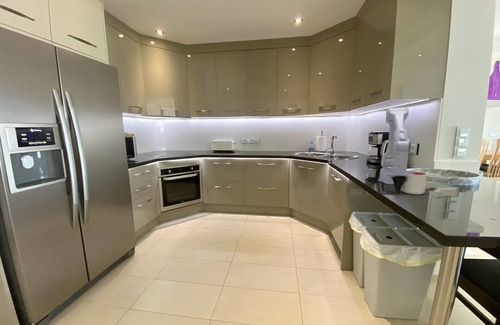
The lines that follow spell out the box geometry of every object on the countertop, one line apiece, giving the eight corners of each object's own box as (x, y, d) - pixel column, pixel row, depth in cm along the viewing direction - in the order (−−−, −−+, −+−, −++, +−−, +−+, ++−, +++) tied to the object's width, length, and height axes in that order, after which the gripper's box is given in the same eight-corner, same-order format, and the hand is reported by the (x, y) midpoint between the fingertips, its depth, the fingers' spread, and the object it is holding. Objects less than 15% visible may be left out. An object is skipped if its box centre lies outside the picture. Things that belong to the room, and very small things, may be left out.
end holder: (415, 188, 118) (416, 180, 118) (433, 188, 118) (434, 180, 117) (437, 196, 104) (438, 187, 103) (458, 196, 104) (459, 187, 103)
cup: (429, 195, 106) (432, 175, 105) (409, 195, 106) (411, 175, 105) (414, 189, 116) (416, 171, 114) (396, 189, 116) (397, 171, 115)
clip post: (432, 196, 104) (433, 190, 104) (437, 196, 104) (438, 190, 104) (436, 197, 102) (437, 191, 102) (441, 197, 102) (442, 191, 102)
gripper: (390, 165, 105) (388, 192, 107) (420, 165, 105) (417, 192, 107) (382, 163, 112) (380, 188, 114) (410, 163, 112) (407, 188, 114)
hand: (397, 190), depth 111 cm, fingers closed
